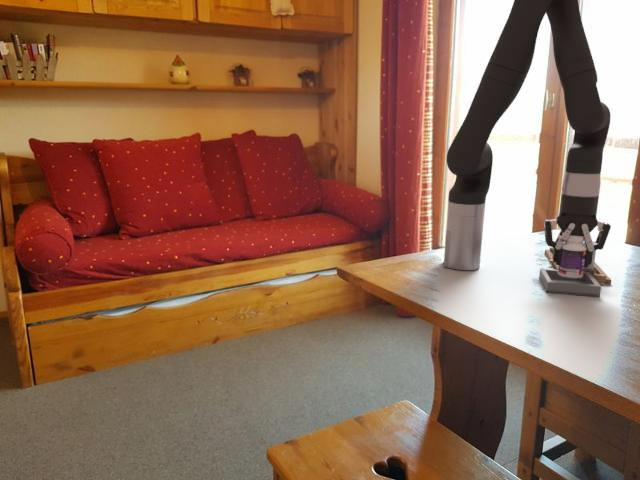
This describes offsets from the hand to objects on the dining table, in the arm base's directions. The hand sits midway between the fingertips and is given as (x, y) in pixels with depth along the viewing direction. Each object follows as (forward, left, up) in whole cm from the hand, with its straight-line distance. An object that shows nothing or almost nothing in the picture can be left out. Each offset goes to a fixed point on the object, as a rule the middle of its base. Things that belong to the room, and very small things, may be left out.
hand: (571, 264), depth 119 cm
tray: (0, 0, -5) cm, 5 cm away
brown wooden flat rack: (+5, +18, -5) cm, 20 cm away
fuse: (+5, +10, -5) cm, 12 cm away
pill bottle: (0, 0, -3) cm, 3 cm away
